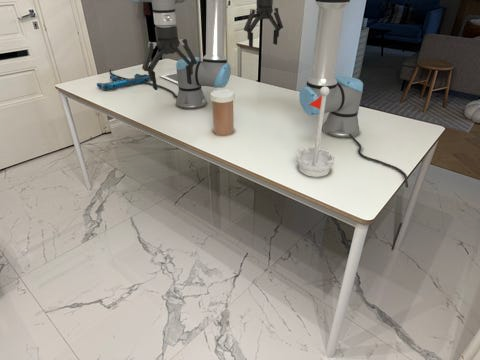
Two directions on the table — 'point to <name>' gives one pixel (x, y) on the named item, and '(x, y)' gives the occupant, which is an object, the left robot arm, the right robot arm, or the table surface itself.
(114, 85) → the submachine gun
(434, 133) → the table surface
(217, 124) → the jar
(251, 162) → the table surface
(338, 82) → the right robot arm
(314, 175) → the flag stand
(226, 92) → the lid
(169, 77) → the tablet
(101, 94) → the table surface
